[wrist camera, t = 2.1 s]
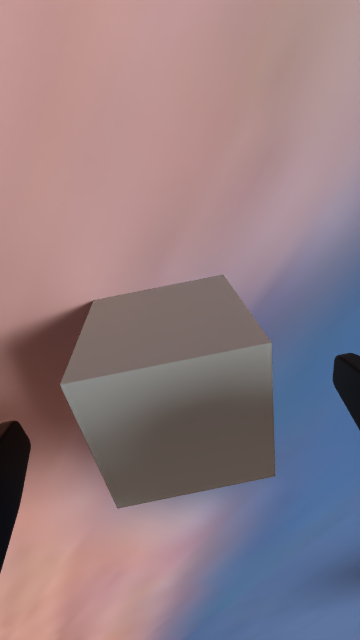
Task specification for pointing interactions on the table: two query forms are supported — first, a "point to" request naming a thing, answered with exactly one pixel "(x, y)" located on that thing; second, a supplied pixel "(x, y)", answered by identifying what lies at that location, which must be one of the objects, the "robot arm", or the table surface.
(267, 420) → the cube
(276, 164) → the table surface
